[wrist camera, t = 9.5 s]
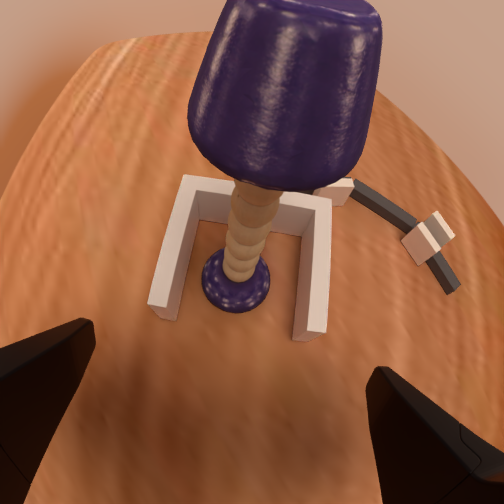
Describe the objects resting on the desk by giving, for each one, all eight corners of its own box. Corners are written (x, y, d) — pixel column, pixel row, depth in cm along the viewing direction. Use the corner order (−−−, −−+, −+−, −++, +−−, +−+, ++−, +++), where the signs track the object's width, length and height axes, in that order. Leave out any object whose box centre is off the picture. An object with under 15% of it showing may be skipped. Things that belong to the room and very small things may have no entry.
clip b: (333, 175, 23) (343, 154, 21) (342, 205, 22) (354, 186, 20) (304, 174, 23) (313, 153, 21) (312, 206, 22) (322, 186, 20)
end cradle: (307, 341, 18) (325, 332, 15) (160, 318, 18) (147, 303, 15) (316, 226, 21) (331, 199, 18) (188, 205, 21) (183, 174, 18)
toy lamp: (250, 233, 21) (306, -37, 5) (294, 288, 19) (456, 41, 4) (188, 271, 19) (135, -21, 4) (231, 332, 18) (294, 57, 3)
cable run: (452, 298, 20) (460, 294, 19) (247, 209, 21) (248, 202, 20) (456, 238, 22) (462, 233, 21) (274, 155, 24) (276, 146, 23)
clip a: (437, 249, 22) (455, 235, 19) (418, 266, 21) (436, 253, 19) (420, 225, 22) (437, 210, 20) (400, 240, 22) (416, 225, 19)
